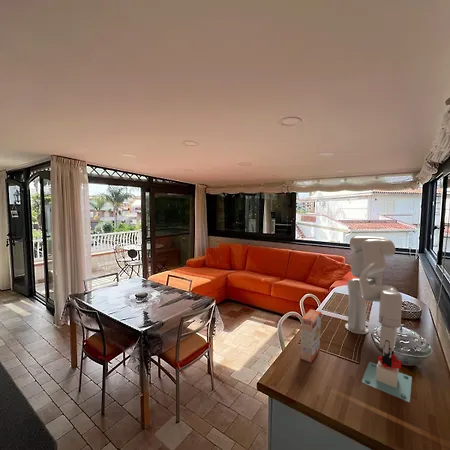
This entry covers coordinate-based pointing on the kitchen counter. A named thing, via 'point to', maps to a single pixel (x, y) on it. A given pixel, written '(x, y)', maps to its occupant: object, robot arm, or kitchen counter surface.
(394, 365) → the bracket
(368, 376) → the baseplate
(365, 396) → the kitchen counter surface
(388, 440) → the kitchen counter surface
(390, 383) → the base block
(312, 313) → the cracker box
